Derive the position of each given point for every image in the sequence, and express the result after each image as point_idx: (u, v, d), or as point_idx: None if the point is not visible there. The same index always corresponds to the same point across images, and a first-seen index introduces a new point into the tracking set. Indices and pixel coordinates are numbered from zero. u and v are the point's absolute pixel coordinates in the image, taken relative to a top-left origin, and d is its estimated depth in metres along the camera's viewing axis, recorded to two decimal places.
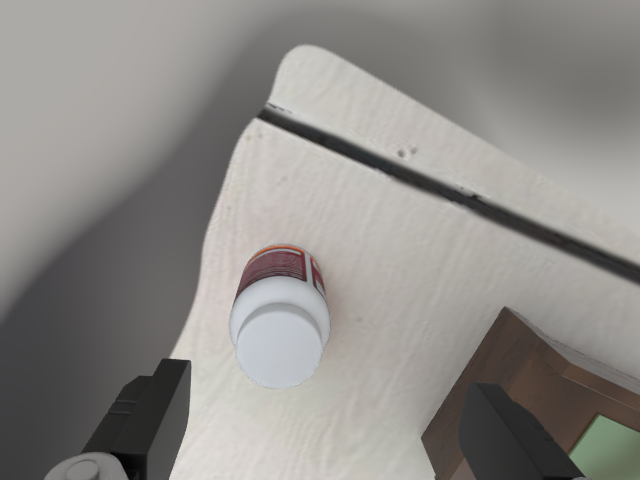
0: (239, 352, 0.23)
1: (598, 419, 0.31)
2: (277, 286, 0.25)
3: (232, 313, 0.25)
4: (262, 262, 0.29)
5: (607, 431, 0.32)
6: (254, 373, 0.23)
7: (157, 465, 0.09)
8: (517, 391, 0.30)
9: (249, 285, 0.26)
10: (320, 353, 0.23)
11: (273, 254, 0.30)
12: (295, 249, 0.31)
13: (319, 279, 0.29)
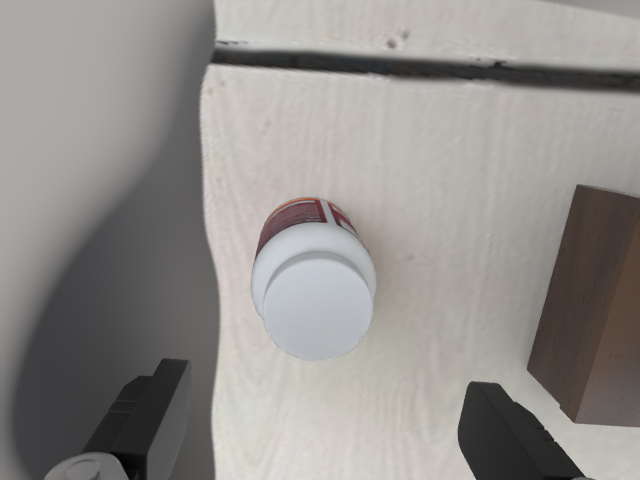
0: (271, 328, 0.18)
1: None
2: (292, 237, 0.19)
3: (252, 288, 0.20)
4: (272, 223, 0.24)
5: None
6: (298, 348, 0.18)
7: (157, 465, 0.09)
8: (631, 273, 0.24)
9: (261, 249, 0.21)
10: (370, 298, 0.18)
11: (283, 211, 0.25)
12: (307, 199, 0.26)
13: (344, 220, 0.24)
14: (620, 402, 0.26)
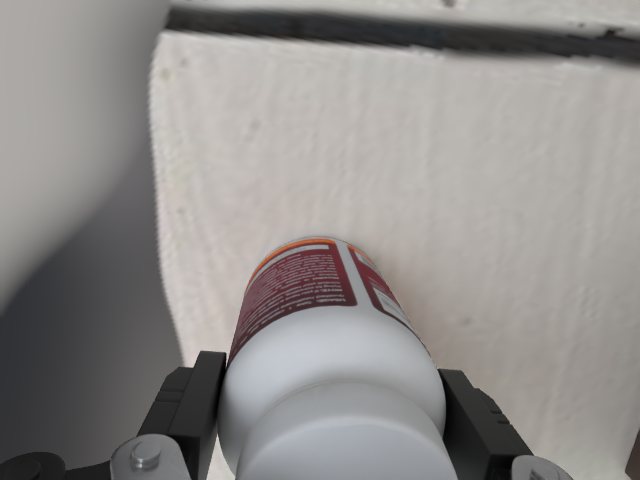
0: None
1: None
2: (293, 342, 0.10)
3: (218, 429, 0.11)
4: (260, 288, 0.14)
5: None
6: None
7: (204, 449, 0.10)
8: None
9: (236, 353, 0.11)
10: None
11: (278, 266, 0.15)
12: (317, 242, 0.17)
13: (379, 283, 0.14)
14: None
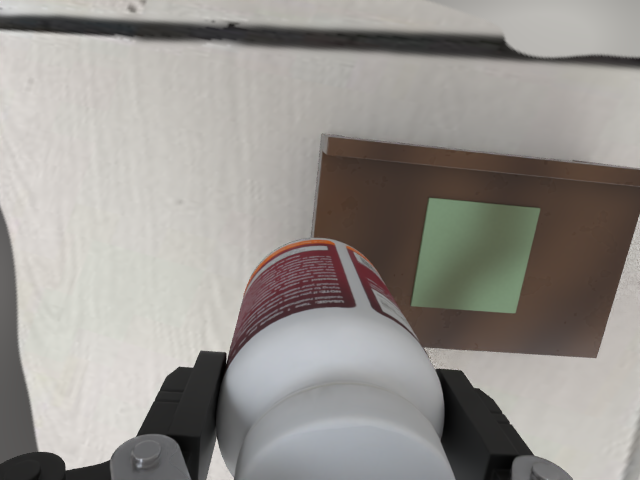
0: None
1: (431, 203, 0.28)
2: (291, 344, 0.10)
3: (217, 430, 0.11)
4: (259, 289, 0.14)
5: (447, 212, 0.28)
6: None
7: (204, 449, 0.10)
8: (326, 202, 0.28)
9: (235, 355, 0.11)
10: None
11: (277, 267, 0.15)
12: (316, 243, 0.17)
13: (378, 284, 0.14)
14: None
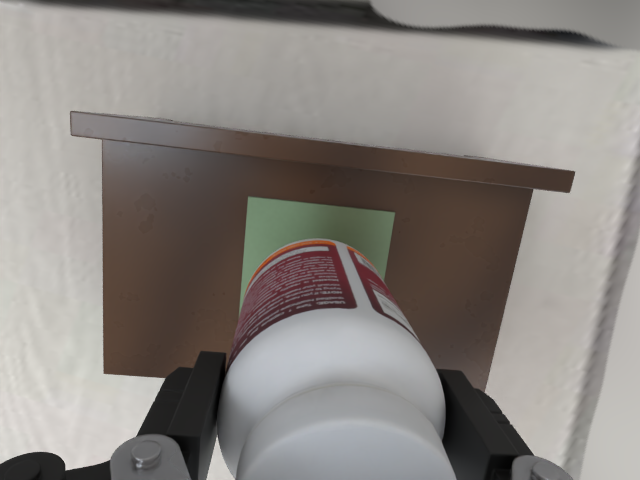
0: None
1: (251, 204, 0.22)
2: (292, 345, 0.10)
3: (218, 431, 0.11)
4: (260, 290, 0.14)
5: (273, 216, 0.22)
6: None
7: (205, 449, 0.10)
8: (115, 201, 0.21)
9: (236, 356, 0.11)
10: None
11: (278, 268, 0.15)
12: (316, 243, 0.17)
13: (379, 285, 0.14)
14: (151, 350, 0.24)
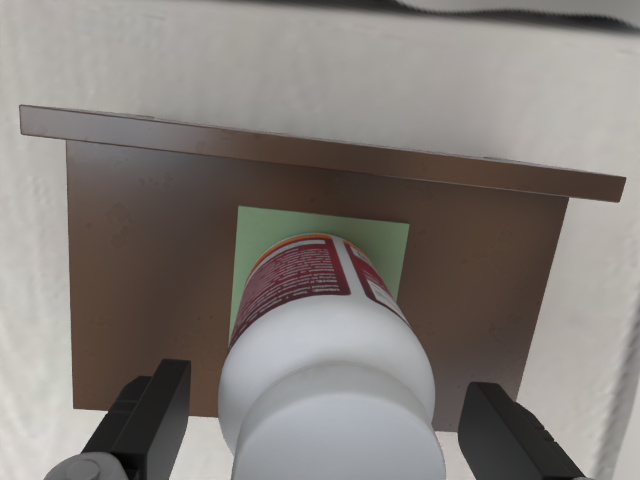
0: None
1: (242, 214, 0.19)
2: (289, 328, 0.11)
3: (219, 411, 0.12)
4: (259, 280, 0.15)
5: (268, 229, 0.19)
6: None
7: (157, 465, 0.09)
8: (82, 211, 0.18)
9: (235, 340, 0.12)
10: (442, 463, 0.09)
11: (276, 259, 0.16)
12: (314, 237, 0.17)
13: (373, 276, 0.15)
14: (127, 381, 0.20)
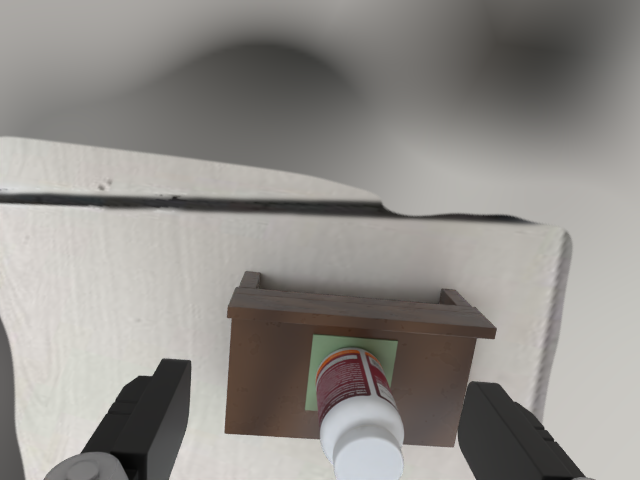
0: (339, 477, 0.28)
1: (314, 338, 0.38)
2: (349, 411, 0.30)
3: (321, 440, 0.31)
4: (329, 380, 0.34)
5: (327, 344, 0.38)
6: None
7: (157, 465, 0.09)
8: (237, 338, 0.38)
9: (327, 412, 0.31)
10: (402, 459, 0.28)
11: (335, 368, 0.35)
12: (351, 352, 0.37)
13: (379, 378, 0.34)
14: (253, 419, 0.40)
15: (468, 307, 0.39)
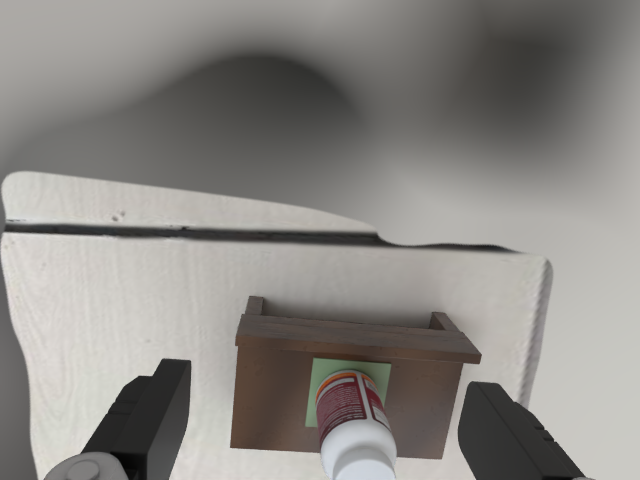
0: None
1: (315, 361, 0.41)
2: (347, 433, 0.33)
3: (322, 459, 0.34)
4: (328, 402, 0.37)
5: (326, 367, 0.41)
6: None
7: (157, 465, 0.09)
8: (243, 361, 0.41)
9: (327, 434, 0.34)
10: (395, 478, 0.31)
11: (334, 391, 0.38)
12: (348, 375, 0.40)
13: (374, 400, 0.37)
14: (257, 435, 0.43)
15: (456, 332, 0.43)
